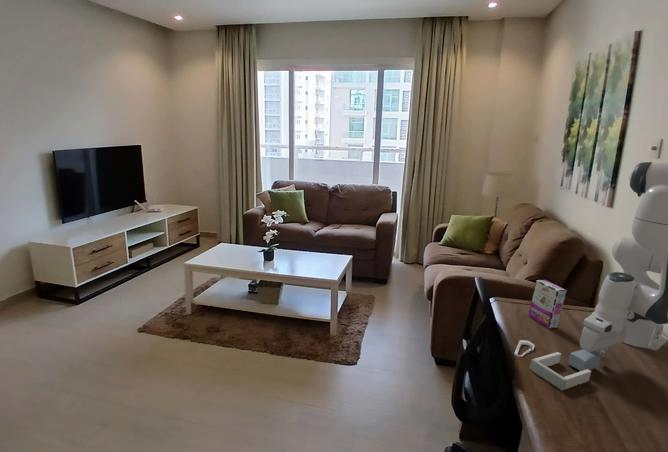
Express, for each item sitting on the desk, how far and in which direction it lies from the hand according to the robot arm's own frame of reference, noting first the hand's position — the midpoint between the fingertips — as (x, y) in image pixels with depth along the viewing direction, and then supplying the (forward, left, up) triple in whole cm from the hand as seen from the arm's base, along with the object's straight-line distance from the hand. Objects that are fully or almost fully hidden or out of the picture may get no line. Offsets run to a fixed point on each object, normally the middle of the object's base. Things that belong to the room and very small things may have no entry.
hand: (598, 357), depth 137 cm
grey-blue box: (+8, 0, -2) cm, 8 cm away
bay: (+19, 0, -2) cm, 20 cm away
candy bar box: (-9, -27, -3) cm, 29 cm away
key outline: (+18, -15, -3) cm, 23 cm away
